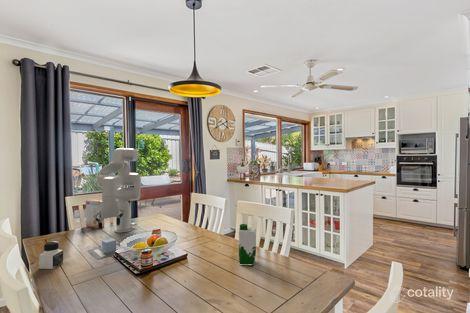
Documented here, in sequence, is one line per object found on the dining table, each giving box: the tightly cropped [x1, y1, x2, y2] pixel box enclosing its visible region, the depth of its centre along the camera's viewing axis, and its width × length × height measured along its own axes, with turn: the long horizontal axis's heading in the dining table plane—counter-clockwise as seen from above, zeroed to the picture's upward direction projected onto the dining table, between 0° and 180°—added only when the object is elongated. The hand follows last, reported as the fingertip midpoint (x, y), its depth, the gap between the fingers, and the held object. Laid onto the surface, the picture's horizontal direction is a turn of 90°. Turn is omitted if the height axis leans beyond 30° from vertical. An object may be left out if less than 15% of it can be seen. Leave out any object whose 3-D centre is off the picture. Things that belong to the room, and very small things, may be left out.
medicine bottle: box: [38, 240, 64, 270], centre depth 127 cm, size 7×7×12 cm
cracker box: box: [85, 198, 105, 230], centre depth 194 cm, size 14×6×21 cm, turn 65°
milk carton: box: [238, 223, 257, 265], centre depth 132 cm, size 9×9×20 cm
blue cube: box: [101, 237, 117, 253], centre depth 147 cm, size 6×6×6 cm
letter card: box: [87, 242, 121, 260], centre depth 147 cm, size 18×17×1 cm
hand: (109, 226), depth 148 cm, fingers open, 9 cm apart
